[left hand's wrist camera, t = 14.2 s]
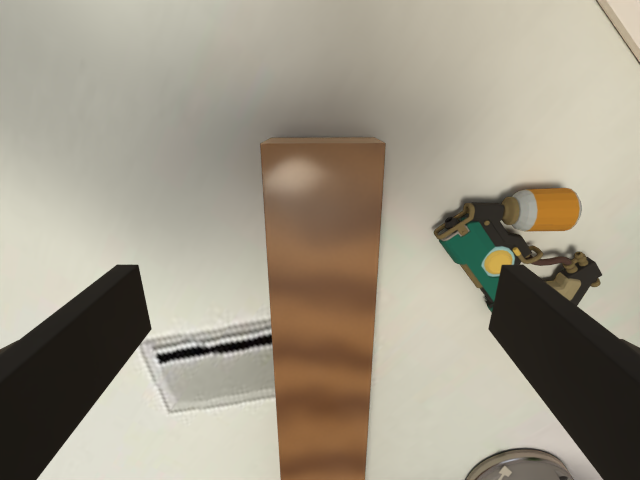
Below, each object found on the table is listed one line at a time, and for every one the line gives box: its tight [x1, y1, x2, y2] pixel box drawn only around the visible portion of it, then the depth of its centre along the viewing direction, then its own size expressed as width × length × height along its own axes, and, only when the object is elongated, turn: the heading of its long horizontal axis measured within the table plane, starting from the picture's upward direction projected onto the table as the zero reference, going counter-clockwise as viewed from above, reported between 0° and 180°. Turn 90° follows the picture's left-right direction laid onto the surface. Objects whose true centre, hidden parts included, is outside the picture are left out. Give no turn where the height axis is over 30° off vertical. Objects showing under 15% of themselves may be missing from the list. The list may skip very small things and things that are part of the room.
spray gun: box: [434, 188, 602, 312], centre depth 37 cm, size 4×17×15 cm
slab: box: [260, 137, 386, 480], centre depth 44 cm, size 73×10×6 cm, turn 0°
